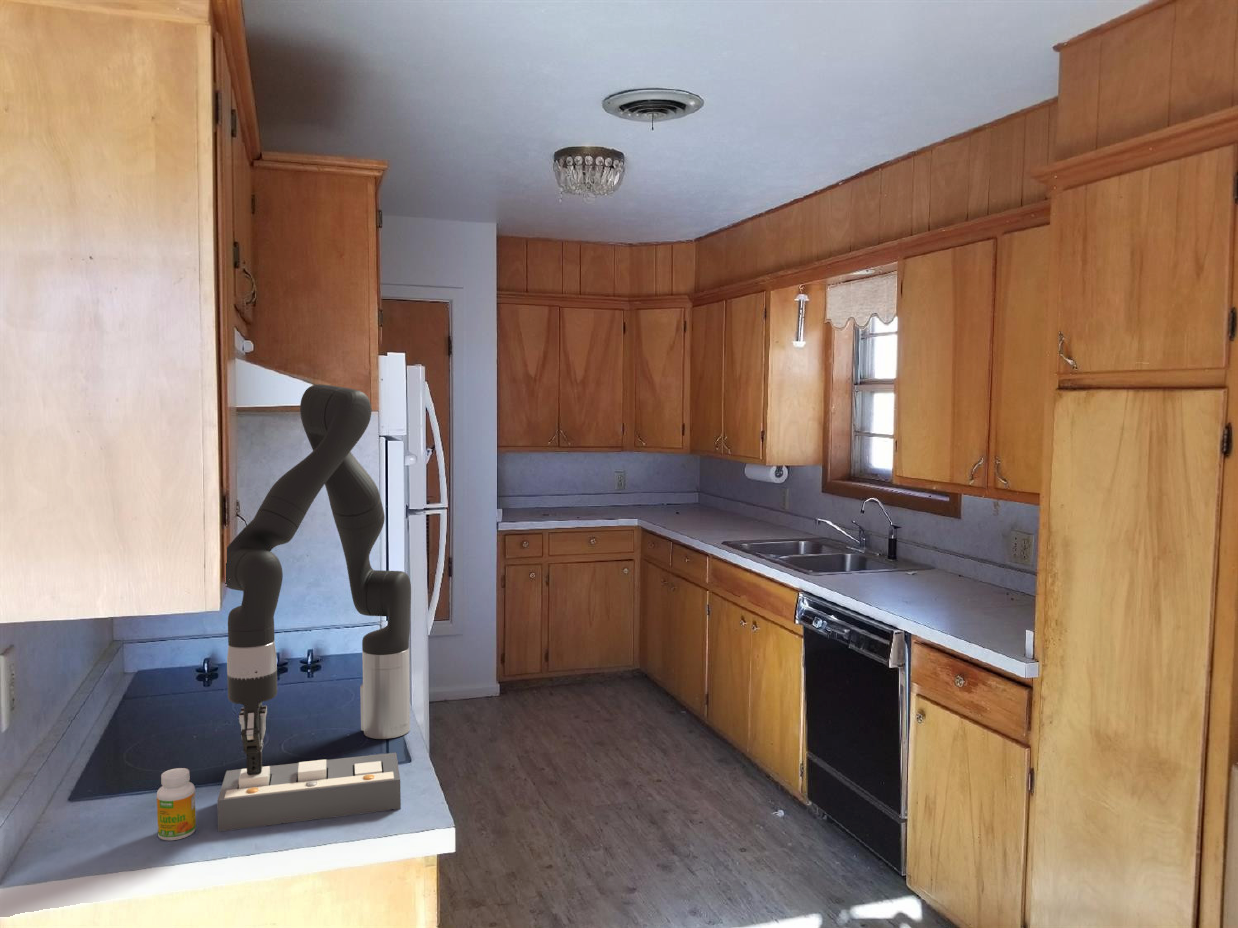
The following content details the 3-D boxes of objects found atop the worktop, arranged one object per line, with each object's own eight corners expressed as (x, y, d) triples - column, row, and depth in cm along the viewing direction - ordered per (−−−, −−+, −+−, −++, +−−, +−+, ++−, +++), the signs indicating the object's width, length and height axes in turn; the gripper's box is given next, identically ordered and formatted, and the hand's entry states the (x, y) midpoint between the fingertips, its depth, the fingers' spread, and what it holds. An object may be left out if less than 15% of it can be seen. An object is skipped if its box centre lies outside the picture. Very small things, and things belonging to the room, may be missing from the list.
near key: (239, 796, 147) (238, 779, 147) (242, 785, 151) (241, 768, 151) (268, 793, 148) (267, 776, 148) (270, 782, 152) (269, 765, 152)
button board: (218, 831, 143) (217, 798, 142) (227, 799, 154) (226, 768, 154) (400, 808, 151) (400, 777, 150) (396, 779, 162) (396, 750, 162)
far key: (355, 790, 152) (354, 774, 152) (354, 779, 156) (354, 764, 156) (382, 787, 153) (382, 771, 153) (381, 776, 158) (381, 761, 157)
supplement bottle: (154, 843, 139) (152, 782, 138) (162, 827, 144) (160, 768, 143) (192, 839, 140) (190, 778, 139) (198, 823, 145) (197, 764, 145)
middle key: (298, 789, 149) (297, 772, 149) (299, 778, 154) (298, 762, 153) (326, 785, 151) (325, 769, 150) (326, 775, 155) (326, 759, 155)
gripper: (273, 679, 143) (276, 786, 144) (279, 657, 155) (281, 755, 157) (222, 683, 141) (225, 792, 142) (232, 660, 153) (234, 760, 154)
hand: (254, 772), depth 149 cm, fingers closed
